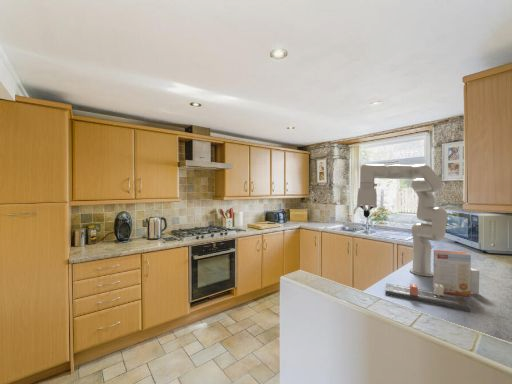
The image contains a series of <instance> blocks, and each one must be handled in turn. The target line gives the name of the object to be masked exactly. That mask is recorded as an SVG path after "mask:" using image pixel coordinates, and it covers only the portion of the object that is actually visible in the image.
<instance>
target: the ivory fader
mask: <svg viewBox="0 0 512 384" xmlns="http://www.w3.org/2000/svg"><path fill="white" fill-rule="evenodd" d="M443 289H444V287H443V286H442V285H441V284H435V283H434V289H433V292H435V294H436V295H441V296H443V294H444V293H443Z"/></svg>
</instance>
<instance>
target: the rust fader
mask: <svg viewBox="0 0 512 384" xmlns="http://www.w3.org/2000/svg"><path fill="white" fill-rule="evenodd" d="M409 287H410V295H414V296H418V289H419V286H418V284H415V283H409Z"/></svg>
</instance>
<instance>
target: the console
mask: <svg viewBox="0 0 512 384" xmlns="http://www.w3.org/2000/svg"><path fill="white" fill-rule="evenodd" d="M386 294H388V295H387V296H391V295H392V296H391V297H395V298H399V299H404V300H405V299H407V300H411V301H415V302H421V303H425V304H430V305H435V306H440V307H445V308H449V309H455V310H460V311H464V312H469V313H470V312H471V307H470V304H469V303H468V302H467V300H466V299H465V297H463V296H460V295H454V294H446V293H443V296H441V295H436V294H435V292H434V291H430V290H425V289H420V288H418V296H414V295H410V286H409V287H408V286H404V285H398V284H392V283H386V284H385V295H386Z"/></svg>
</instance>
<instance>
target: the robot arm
mask: <svg viewBox="0 0 512 384" xmlns="http://www.w3.org/2000/svg"><path fill="white" fill-rule="evenodd" d="M359 171H360V173H359V176H360V177H359V179H360V181H359V182H360V183H359V188H358V191H357V200H356V207H358V208H361V209H362V210H363V217H364V218H369V217H370V211H371V210H373V209H376V208H378V205H377V204H378V203H377V202H378V200H377V197H378V196H377V188H376V187H378V183H375V179H388V180H389V179H391V180H394V179H395V180H412V181H411V188H412V189H413V191H414V192H415V194H416V195H417V197H418V198H417V199H418V200H417V201H418V202H417V209H416V218H417V219H418V220H419V221H422V222H418V223H417V222H416V223H414V224H413V225H412V226H411V235H412V267H411V268H410V269H409V272H410V273H412V274H413V275H417V276H420V277H433V271H432V244H431V241H434V242H442V240H444V238H445V236H446V231H447V223H448V213H447V210H445V209H444V208H443V207H439V206H435V203H436V199H435V195H434V194H433V193H435V192H437V193H438V192H439V191H441V189H442V188H443V181H442V180H441V178H440V177H439V176H438V174H437V173H436V172H435V171H434V169H433V168H432V167H430V166H429V165H427V164H424V163H423V164H414V165H413V164H412V165H411V164H410V165H409V164H407V165H406V164H390V165H386V164H371V163H370V164H368V163H366V164H361V165H360V170H359ZM366 206H367V209H366ZM423 222H426V223H423ZM430 223H431V224H430Z"/></svg>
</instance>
